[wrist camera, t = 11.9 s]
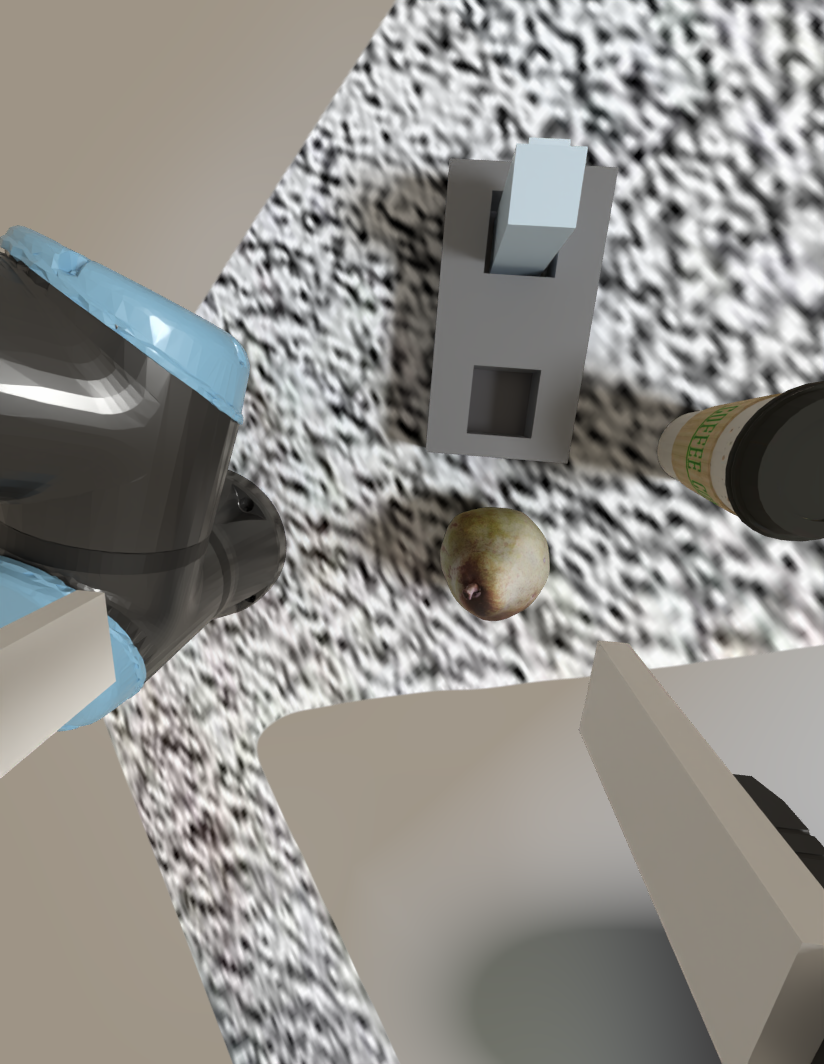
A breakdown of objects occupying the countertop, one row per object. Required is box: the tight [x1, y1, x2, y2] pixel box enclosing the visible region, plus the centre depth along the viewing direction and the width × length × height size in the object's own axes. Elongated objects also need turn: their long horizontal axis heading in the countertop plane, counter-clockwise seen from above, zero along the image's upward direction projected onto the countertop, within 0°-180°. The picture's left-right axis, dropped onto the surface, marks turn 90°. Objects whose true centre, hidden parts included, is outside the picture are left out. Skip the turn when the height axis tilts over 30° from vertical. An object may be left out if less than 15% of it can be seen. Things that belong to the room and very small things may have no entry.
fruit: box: [440, 507, 550, 621], centre depth 38 cm, size 10×9×12 cm
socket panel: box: [426, 158, 618, 463], centre depth 36 cm, size 12×21×4 cm, turn 176°
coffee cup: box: [657, 381, 824, 541], centre depth 33 cm, size 10×10×15 cm
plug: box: [489, 138, 588, 277], centre depth 31 cm, size 4×5×11 cm
